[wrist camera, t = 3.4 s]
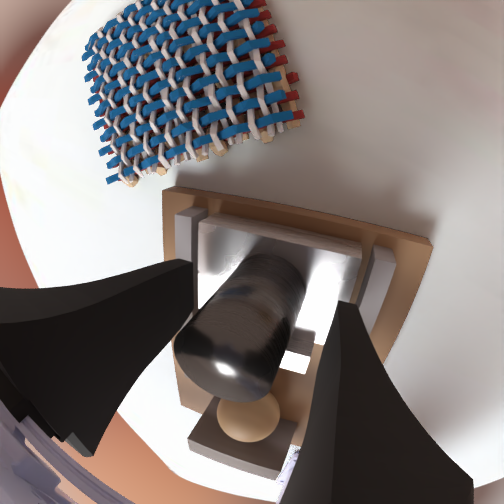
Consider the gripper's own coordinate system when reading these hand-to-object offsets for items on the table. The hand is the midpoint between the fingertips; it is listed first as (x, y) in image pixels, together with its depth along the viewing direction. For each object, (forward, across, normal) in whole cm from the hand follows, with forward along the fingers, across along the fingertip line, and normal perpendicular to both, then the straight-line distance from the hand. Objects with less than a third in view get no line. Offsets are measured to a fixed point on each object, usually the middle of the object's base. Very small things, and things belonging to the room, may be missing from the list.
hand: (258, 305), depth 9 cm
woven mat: (+5, +6, -9) cm, 12 cm away
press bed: (+4, 0, +6) cm, 7 cm away
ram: (+3, 0, 0) cm, 3 cm away
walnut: (+3, 0, +9) cm, 9 cm away
